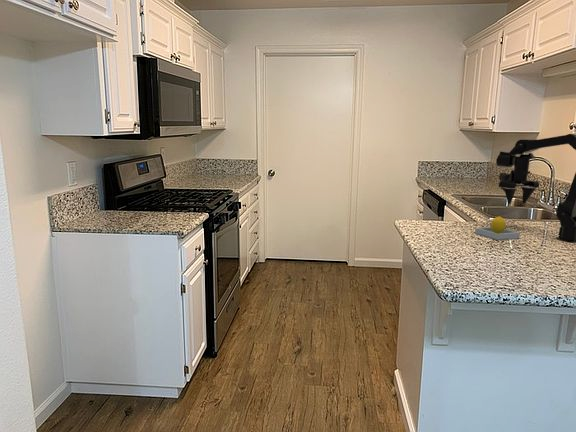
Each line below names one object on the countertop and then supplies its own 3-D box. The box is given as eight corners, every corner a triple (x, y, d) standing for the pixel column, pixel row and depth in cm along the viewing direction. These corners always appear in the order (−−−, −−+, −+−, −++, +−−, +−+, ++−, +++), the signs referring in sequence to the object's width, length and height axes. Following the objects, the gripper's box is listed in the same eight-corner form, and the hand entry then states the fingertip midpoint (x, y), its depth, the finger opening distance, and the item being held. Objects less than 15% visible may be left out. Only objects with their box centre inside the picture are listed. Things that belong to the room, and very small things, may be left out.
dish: (519, 238, 184) (519, 232, 184) (497, 240, 180) (498, 234, 179) (495, 232, 195) (496, 226, 195) (474, 233, 190) (475, 228, 190)
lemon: (505, 237, 184) (508, 218, 183) (491, 235, 185) (493, 217, 184) (502, 234, 190) (505, 215, 188) (488, 232, 191) (490, 214, 189)
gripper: (520, 166, 208) (516, 199, 211) (490, 166, 200) (486, 201, 203) (542, 169, 198) (537, 203, 201) (511, 169, 190) (507, 205, 193)
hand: (516, 203), depth 200 cm, fingers open, 9 cm apart
